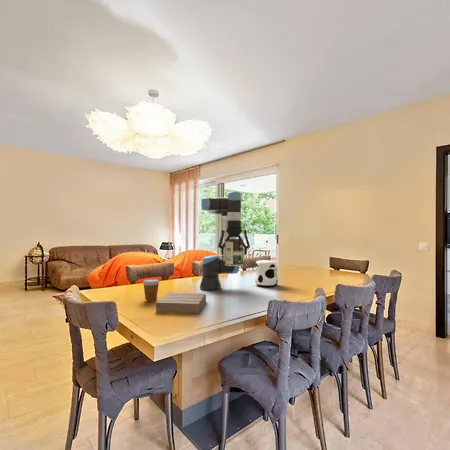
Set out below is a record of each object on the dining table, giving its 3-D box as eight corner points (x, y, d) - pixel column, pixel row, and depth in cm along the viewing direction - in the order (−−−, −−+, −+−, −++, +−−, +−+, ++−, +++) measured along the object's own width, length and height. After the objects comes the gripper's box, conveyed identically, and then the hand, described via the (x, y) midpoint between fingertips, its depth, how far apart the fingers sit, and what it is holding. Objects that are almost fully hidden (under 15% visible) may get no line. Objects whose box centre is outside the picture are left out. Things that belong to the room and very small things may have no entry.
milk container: (252, 283, 217) (252, 260, 217) (274, 283, 219) (274, 260, 219) (257, 288, 200) (257, 263, 200) (281, 287, 201) (281, 262, 202)
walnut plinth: (169, 301, 165) (169, 292, 165) (205, 302, 162) (205, 293, 162) (156, 312, 143) (156, 302, 143) (198, 313, 140) (198, 303, 140)
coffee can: (244, 264, 157) (244, 238, 157) (242, 266, 147) (242, 239, 147) (226, 263, 159) (226, 238, 159) (222, 266, 149) (222, 239, 149)
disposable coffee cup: (162, 299, 169) (162, 279, 169) (153, 303, 160) (153, 282, 160) (148, 297, 172) (148, 278, 172) (139, 301, 163) (139, 281, 163)
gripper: (212, 220, 150) (212, 261, 150) (254, 220, 148) (254, 261, 148) (214, 220, 158) (214, 259, 158) (254, 220, 156) (254, 260, 155)
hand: (234, 260), depth 153 cm, fingers closed on coffee can, 10 cm apart
